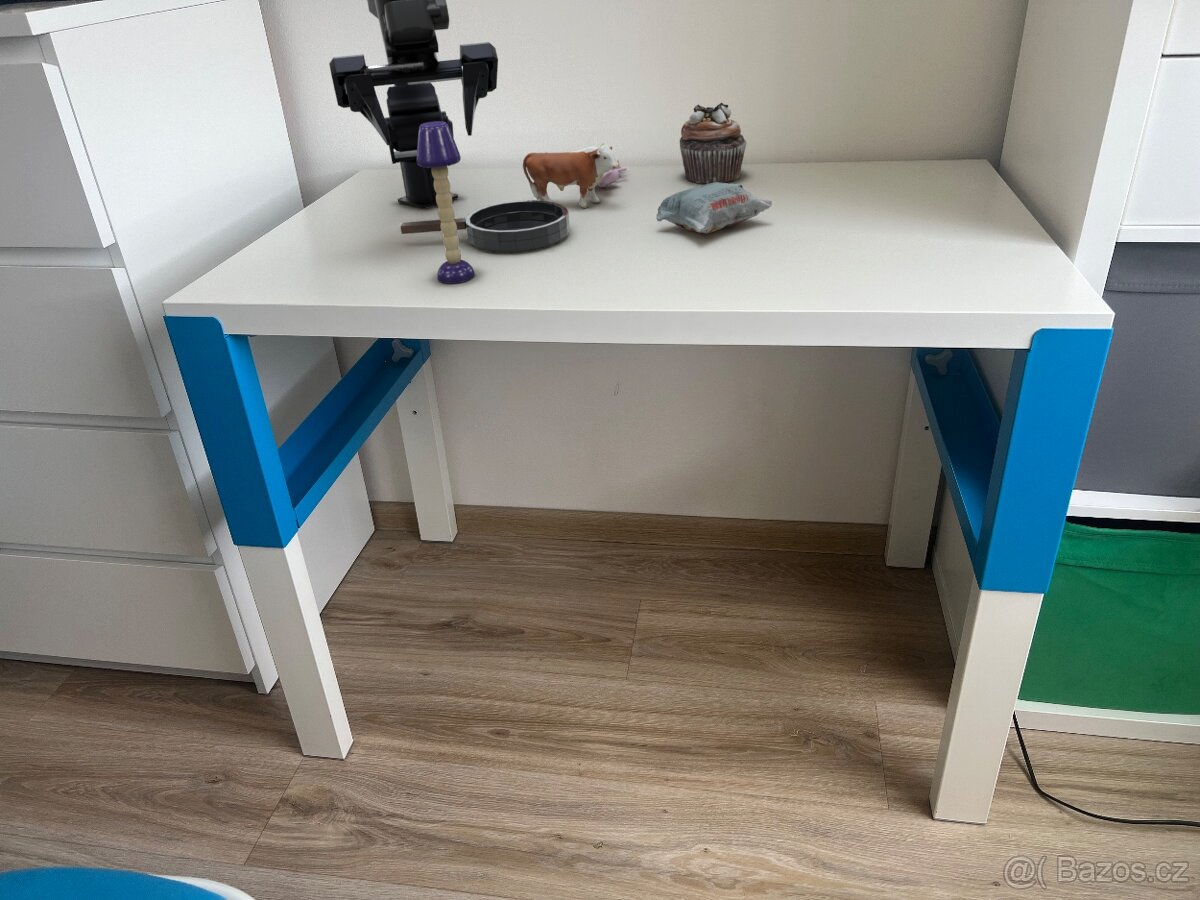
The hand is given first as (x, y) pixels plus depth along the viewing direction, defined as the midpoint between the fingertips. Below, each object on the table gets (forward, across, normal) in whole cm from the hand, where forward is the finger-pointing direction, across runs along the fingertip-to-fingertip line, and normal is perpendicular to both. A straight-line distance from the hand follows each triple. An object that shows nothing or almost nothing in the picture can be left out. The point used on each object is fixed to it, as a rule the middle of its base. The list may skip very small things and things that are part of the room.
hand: (429, 138), depth 99 cm
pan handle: (+5, -1, +12) cm, 13 cm away
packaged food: (+13, +33, +6) cm, 36 cm away
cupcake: (-2, +41, +22) cm, 47 cm away
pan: (+8, +9, +11) cm, 17 cm away
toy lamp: (+15, 0, +4) cm, 16 cm away
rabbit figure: (-5, +26, +24) cm, 35 cm away
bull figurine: (+1, +19, +19) cm, 27 cm away
